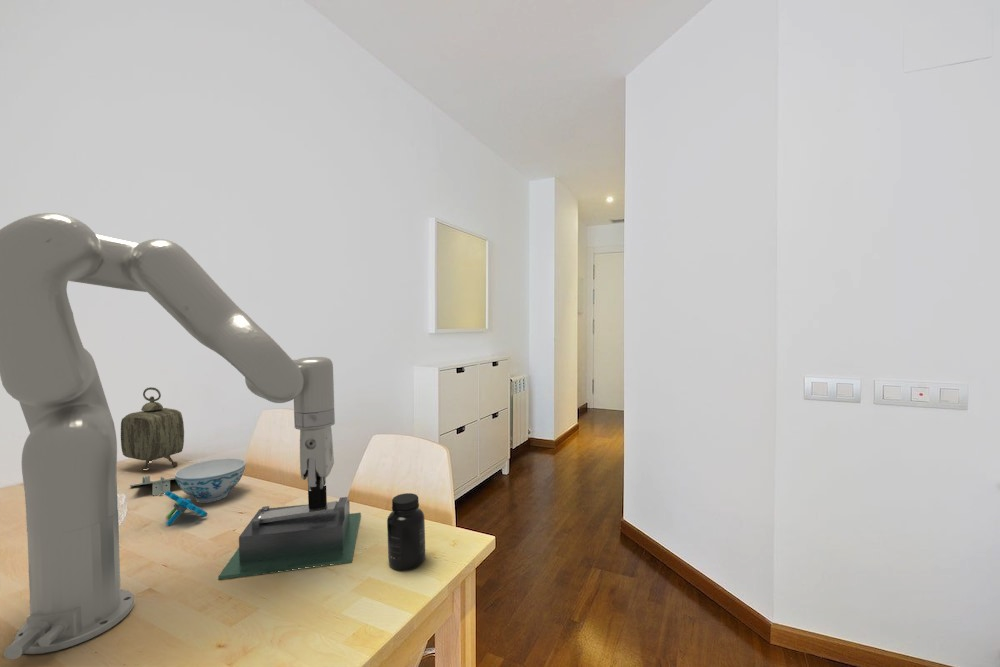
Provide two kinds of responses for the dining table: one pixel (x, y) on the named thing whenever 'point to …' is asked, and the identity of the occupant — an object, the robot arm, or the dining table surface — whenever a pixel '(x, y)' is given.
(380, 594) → the dining table surface
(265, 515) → the steel strap
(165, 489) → the metal bracket
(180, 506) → the gear
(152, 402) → the tabletop clock
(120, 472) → the dining table surface
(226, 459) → the chinaware
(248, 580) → the dining table surface
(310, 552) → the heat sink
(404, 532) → the supplement bottle
